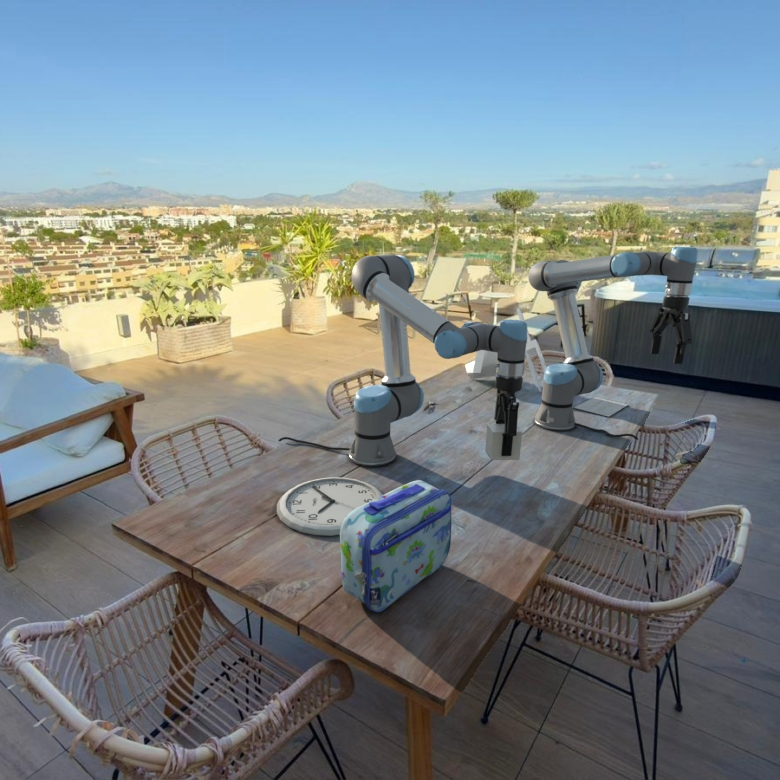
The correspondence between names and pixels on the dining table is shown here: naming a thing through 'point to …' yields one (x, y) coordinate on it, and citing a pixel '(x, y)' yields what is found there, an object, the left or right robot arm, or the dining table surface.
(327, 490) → the wall clock
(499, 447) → the brick
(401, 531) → the lunch box
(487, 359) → the white plastic object
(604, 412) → the invitation card
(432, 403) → the fork
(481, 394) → the dining table surface
